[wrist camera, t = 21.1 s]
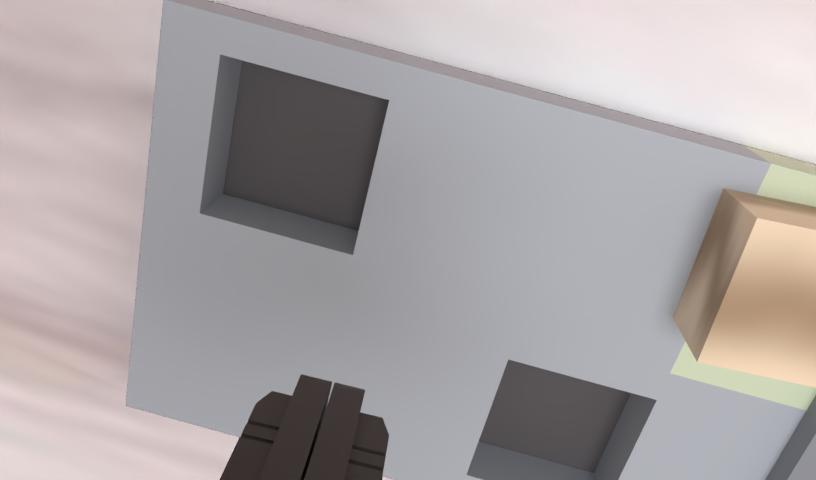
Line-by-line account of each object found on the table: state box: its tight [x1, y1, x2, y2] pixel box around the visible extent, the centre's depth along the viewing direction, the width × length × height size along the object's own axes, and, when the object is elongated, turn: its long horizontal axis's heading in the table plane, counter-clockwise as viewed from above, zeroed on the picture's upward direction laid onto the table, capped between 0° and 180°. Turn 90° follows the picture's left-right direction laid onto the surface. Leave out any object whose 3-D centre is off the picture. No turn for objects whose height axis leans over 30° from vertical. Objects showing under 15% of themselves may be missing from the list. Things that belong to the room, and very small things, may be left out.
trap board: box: [126, 0, 816, 480], centre depth 30 cm, size 20×32×4 cm, turn 76°
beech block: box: [673, 188, 816, 388], centre depth 26 cm, size 6×6×4 cm
